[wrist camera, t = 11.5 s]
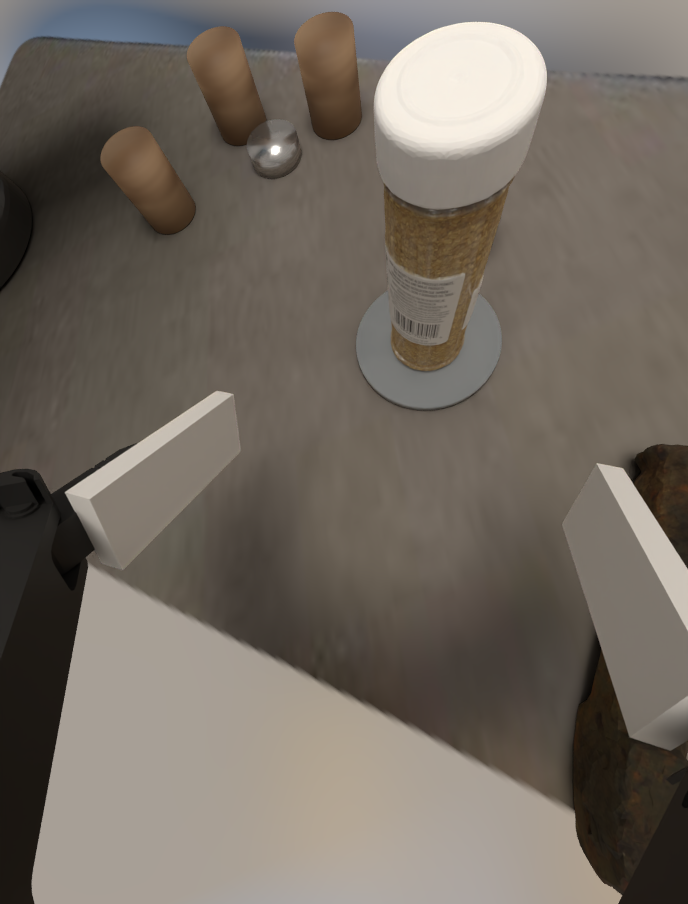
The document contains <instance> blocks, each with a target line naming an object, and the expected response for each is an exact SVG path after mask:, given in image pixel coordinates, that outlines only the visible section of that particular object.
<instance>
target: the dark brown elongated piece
mask: <svg viewBox="0 0 688 904" xmlns="http://www.w3.org/2000/svg"><path fill="white" fill-rule="evenodd" d="M635 462H636V463H637V465H638V467H639V468H640V470H641V474H640V475H639V476H638V477H637V478H636V479H635V481H634V482H633V485H634V486H635V488H636V489H637V491H638V492H639V494H640V495H641V497H642V499H643V500H644V502H645V503H646V505H647V506H648V508H649V510H650V511H651V513H652V514H653V516H654V517H655V519H656V520H657V522H658V524H659V525H660V527H661V528H662V530H663V531H664V533H665V534H666V536H667V538H668V539H669V541H670V542H671V544H672V545H673V547H674V549H675V550H676V552H677V553H678V555H679V556H680V558H681V559H682V561H683V563H684V564H685V566H686V567H687V569H688V446H683V445H666V444H659V445H654V446H651V447H649V448H647V449H645V451H644V452H641V453H639V454H637V456H636V458H635ZM687 752H688V741H686V742H684V743H683V744H681V745H679V746H678V747H676V748H674V749H673V750H671V751H670V750H667V749H664V748H661V747H658V746H655V745H652V744H649V743H646V742H642V741H639V740H636V739H633V738H630V737H629V734H628V730H627V727H626V724H625V721H624V718H623V715H622V712H621V708H620V705H619V702H618V699H617V696H616V693H615V690H614V686H613V683H612V680H611V677H610V674H609V671H608V668H607V664H606V661H605V658H604V655H603V652H602V649H601V654H600V658H599V662H598V665H597V670H596V674H595V678H594V682H593V687H592V692H591V694H590V696H589V697H588V699H587V701H584V702H583V703H581V704H580V705H579V708H578V713H577V719H576V725H575V736H574V764H573V785H574V805H575V818H576V832H577V837H578V840H579V843H580V846H581V847H582V850H583V852H584V854H585V855H586V857H587V859H588V861H589V863H590V864H591V866H592V868H593V869H594V871H595V872H596V874H597V875H598V877H599V878H600V879H601V880H602V882H603V883H604V884H607V885H609V886H612V887H613V888H614V889H615V890H616V891H618V892H619V893H621V894H622V895H623V894H624V892H625V890H626V888H627V886H628V884H629V882H630V880H631V878H632V876H633V874H634V872H635V870H636V868H637V866H638V864H639V862H640V860H641V858H642V856H643V854H644V852H645V851H646V849H647V847H648V845H649V843H650V841H651V839H652V837H653V835H654V833H655V831H656V829H657V827H658V825H659V823H660V821H661V819H662V817H663V815H664V813H665V811H666V809H667V807H668V805H669V804H670V802H671V800H672V798H673V796H674V794H675V792H676V790H677V788H678V786H679V784H680V782H681V781H679V782H677V783H675V784H673V785H671V784H670V783H669V782H668V781H667V780H666V779H667V778H668V777H669V776H671V775H672V774H673V773H675V772H677V771H679V770H681V769H683V768H684V767H686V766H688V760H687V759H686V755H687Z"/></svg>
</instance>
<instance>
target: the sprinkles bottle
mask: <svg viewBox="0 0 688 904" xmlns="http://www.w3.org/2000/svg"><path fill="white" fill-rule="evenodd" d="M546 85H547V72H546V66H545V62H544V60H543V57H542V55H541V53H540V52H539V50H538V49H537V47H536V46H535V45H534V44H533V43H532V42H531V41H530V40H529V39H528V38H527V37H525V36H524V35H523V34H521V33H520V32H518V31H516V30H514V29H512V28H509V27H506V26H504V25H500V24H494V23H489V22H467V23H459V24H454V25H450V26H445V27H442V28H439V29H436V30H433V31H431V32H429V33H427V34H425V35H423V36H421V37H420V38H418V39H416V40H415V41H413V42H412V43H410V44H409V45H408V46H406V47H405V48H404V49H403V50H401V51H400V52H399V53H398V54H397V55H396V56H395V57H394V58H393V59H392V61H391V62H390V63H389V65H388V66H387V67H386V69H385V71H384V72H383V74H382V76H381V78H380V80H379V83H378V85H377V88H376V92H375V97H374V126H375V146H376V158H377V166H378V170H379V173H380V176H381V178H382V180H383V182H384V199H385V223H386V232H385V249H386V265H387V282H388V297H389V312H390V318H391V324H392V331H391V347H392V350H393V352H394V354H395V356H396V357H397V359H398V360H399V361H401V362H402V363H403V364H404V365H406V366H409V367H410V368H412V369H415V370H420V371H432V370H436V369H439V368H442V367H444V366H446V365H448V364H450V363H451V362H452V361H453V360H454V359H455V358H456V357H457V355H458V354H459V352H460V350H461V348H462V346H463V344H464V338H465V330H466V327H467V324H468V322H469V320H470V318H471V315H472V313H473V309H474V306H475V303H476V300H477V297H478V293H479V290H480V287H481V284H482V280H483V276H484V270H485V266H486V263H487V259H488V256H489V253H490V250H491V246H492V243H493V240H494V236H495V234H496V230H497V227H498V224H499V221H500V218H501V214H502V210H503V206H504V203H505V200H506V197H507V193H508V188H509V186H510V184H511V183H512V181H513V179H514V177H515V175H516V173H517V172H518V171H519V169H520V167H521V166H522V164H523V162H524V160H525V157H526V155H527V152H528V149H529V146H530V143H531V140H532V136H533V133H534V130H535V127H536V124H537V120H538V117H539V113H540V110H541V106H542V103H543V100H544V96H545V92H546Z"/></svg>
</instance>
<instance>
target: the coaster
mask: <svg viewBox="0 0 688 904" xmlns="http://www.w3.org/2000/svg"><path fill="white" fill-rule="evenodd" d="M391 331H392V324H391V318H390V312H389V297H388V291H386V292H385V293H383V294H382V295H381V296H380V297H378V298H377V299H376V300H375V301H374V302H373V303H372V305H371V306H370V307H369V308H368V310H367V311H366V313H365V315H364V316H363V318H362V320H361V323H360V325H359V329H358V332H357V338H356V352H357V358H358V362H359V365H360V369H361V371H362V373H363V375H364V377H365V379H366V380H367V382H368V384H369V385H370V386H371V387H372V388H373V389H374V390H375V391H376V392H377V393H378V394H379V395H380V396H382V397H383V398H385V399H386V400H388V401H390V402H392V403H394V404H396V405H398V406H401V407H404V408H408V409H413V410H437V409H443V408H447V407H450V406H453V405H456V404H458V403H460V402H462V401H464V400H466V399H467V398H469V397H470V396H472V395H473V394H474V393H476V392H477V391H478V390H479V389H480V388H481V387H482V386H483V385H484V384H485V382H486V381H487V380H488V378H489V377H490V375H491V374H492V372H493V370H494V368H495V366H496V364H497V362H498V359H499V356H500V352H501V345H502V335H501V328H500V324H499V321H498V318H497V316H496V313H495V312H494V310H493V309H492V307H491V305H490V304H489V303H488V302H487V301H486V299H485V298H483V297H482V296H481V295H480V294H479V293H478V297H477V300H476V303H475V306H474V309H473V313H472V315H471V318H470V320H469V322H468V324H467V327H466V330H465V338H464V344H463V346H462V348H461V350H460V352H459V354H458V355H457V357H456V358H455V359H454V360H453V361H452V362H451V363H450V364H448V365H446V366H444V367H442V368H439V369H436V370H432V371H420V370H415V369H412V368H410V367H409V366H406V365H404V364H403V363H402V362H401V361H399V360H398V359H397V357H396V356H395V354H394V352H393V350H392V347H391Z"/></svg>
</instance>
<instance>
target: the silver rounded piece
mask: <svg viewBox="0 0 688 904" xmlns="http://www.w3.org/2000/svg"><path fill="white" fill-rule="evenodd" d="M247 150H248V153H249V155H250V158H251V160H252V163H253V165H254V168H255V170H256V172H257V173H258V174H259V175H260V176H262V177H264V178H268V179H276V178H281V177H284V176H286V175H288V174H289V173H291V172H292V171H293V170H294V169H295V168H296V167H297V165H298V164H299V162H300V160H301V154H302V153H301V148H300V144H299V140H298V137H297V133H296V129H295V127H294V126H293V125H292V124H291V123H290V122H288V121H286V120H282V119H273V120H269V121H266V122H264V123H262V124H260V125H259V126H257V127H256V128H255V129H254V130H253V131H252V132H251V134H250V135H249V137H248V140H247Z"/></svg>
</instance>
